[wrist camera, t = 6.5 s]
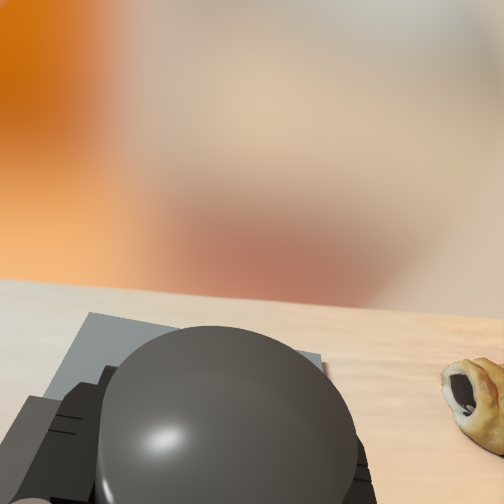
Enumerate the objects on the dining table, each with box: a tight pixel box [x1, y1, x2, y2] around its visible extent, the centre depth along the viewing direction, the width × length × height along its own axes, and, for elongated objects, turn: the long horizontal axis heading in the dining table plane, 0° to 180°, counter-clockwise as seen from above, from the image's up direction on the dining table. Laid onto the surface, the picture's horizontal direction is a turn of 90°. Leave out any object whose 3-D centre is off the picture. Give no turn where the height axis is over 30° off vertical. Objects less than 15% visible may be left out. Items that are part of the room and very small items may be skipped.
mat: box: [43, 312, 323, 401], centre depth 27 cm, size 16×9×1 cm, turn 89°
